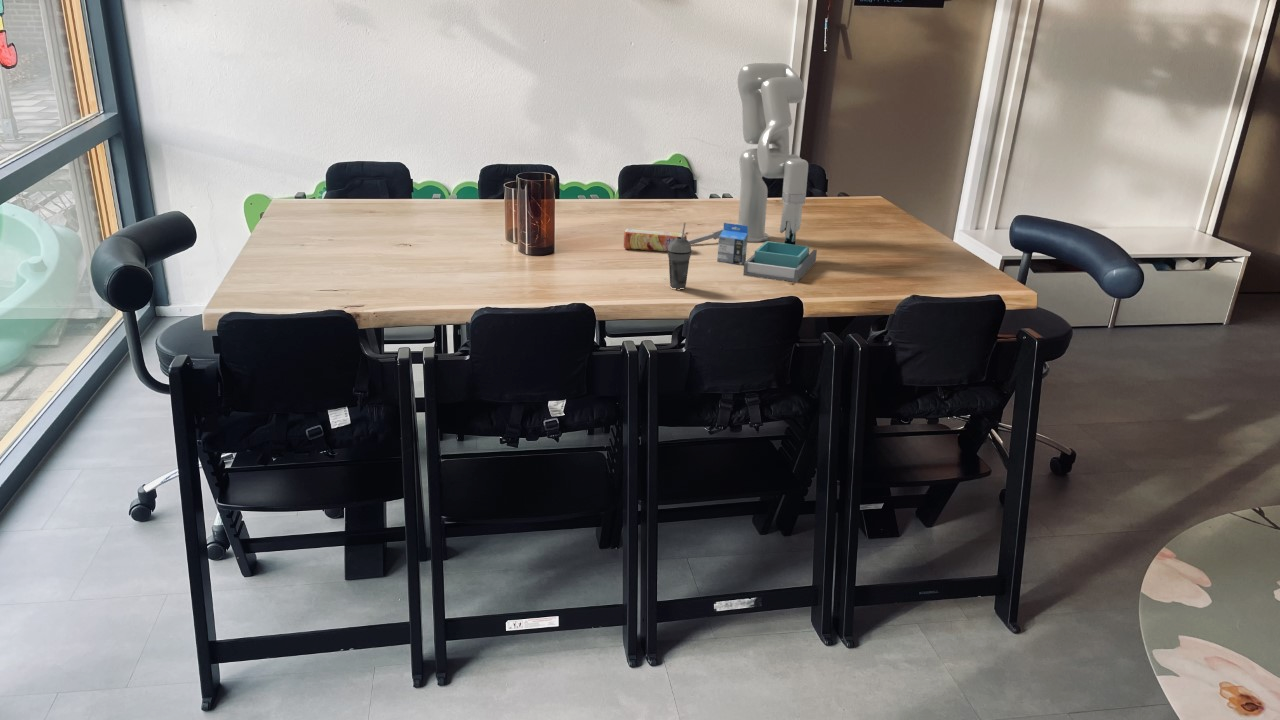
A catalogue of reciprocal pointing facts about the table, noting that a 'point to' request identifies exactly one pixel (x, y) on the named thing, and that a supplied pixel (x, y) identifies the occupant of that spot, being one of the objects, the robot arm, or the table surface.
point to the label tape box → (733, 244)
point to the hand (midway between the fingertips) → (789, 252)
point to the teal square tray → (781, 254)
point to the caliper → (707, 237)
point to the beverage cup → (679, 261)
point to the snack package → (649, 239)
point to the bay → (779, 269)
